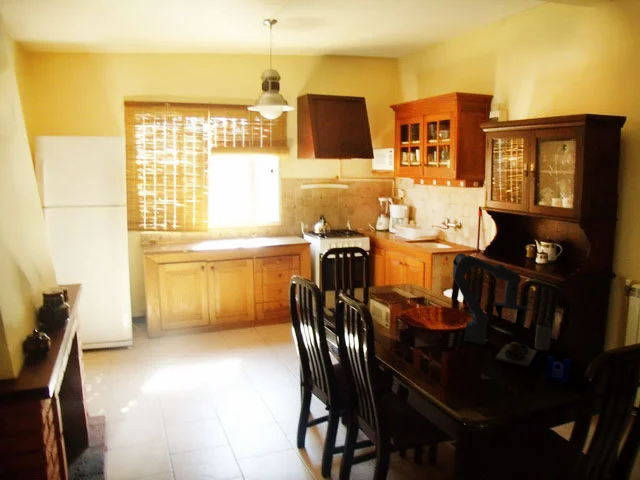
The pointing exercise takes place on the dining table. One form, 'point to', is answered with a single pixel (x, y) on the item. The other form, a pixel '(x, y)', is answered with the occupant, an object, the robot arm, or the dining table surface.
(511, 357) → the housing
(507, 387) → the dining table surface
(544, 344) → the can
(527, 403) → the dining table surface
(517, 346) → the tan rounded capsule
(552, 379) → the bracket
